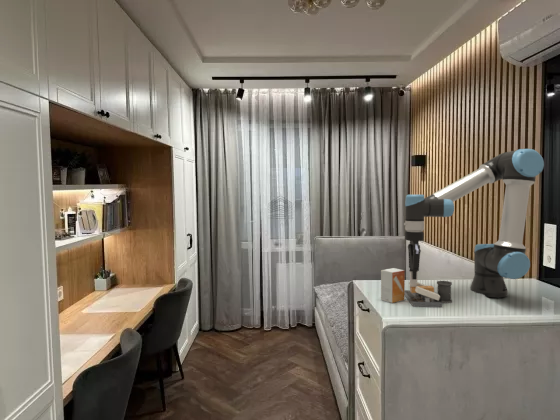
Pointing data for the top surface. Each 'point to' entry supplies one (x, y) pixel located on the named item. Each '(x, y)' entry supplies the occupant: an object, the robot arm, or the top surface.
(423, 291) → the beige rectangular tile
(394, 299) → the small box
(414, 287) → the paddle mid
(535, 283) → the top surface
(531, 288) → the top surface
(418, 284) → the paddle far
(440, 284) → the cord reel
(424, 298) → the plate
